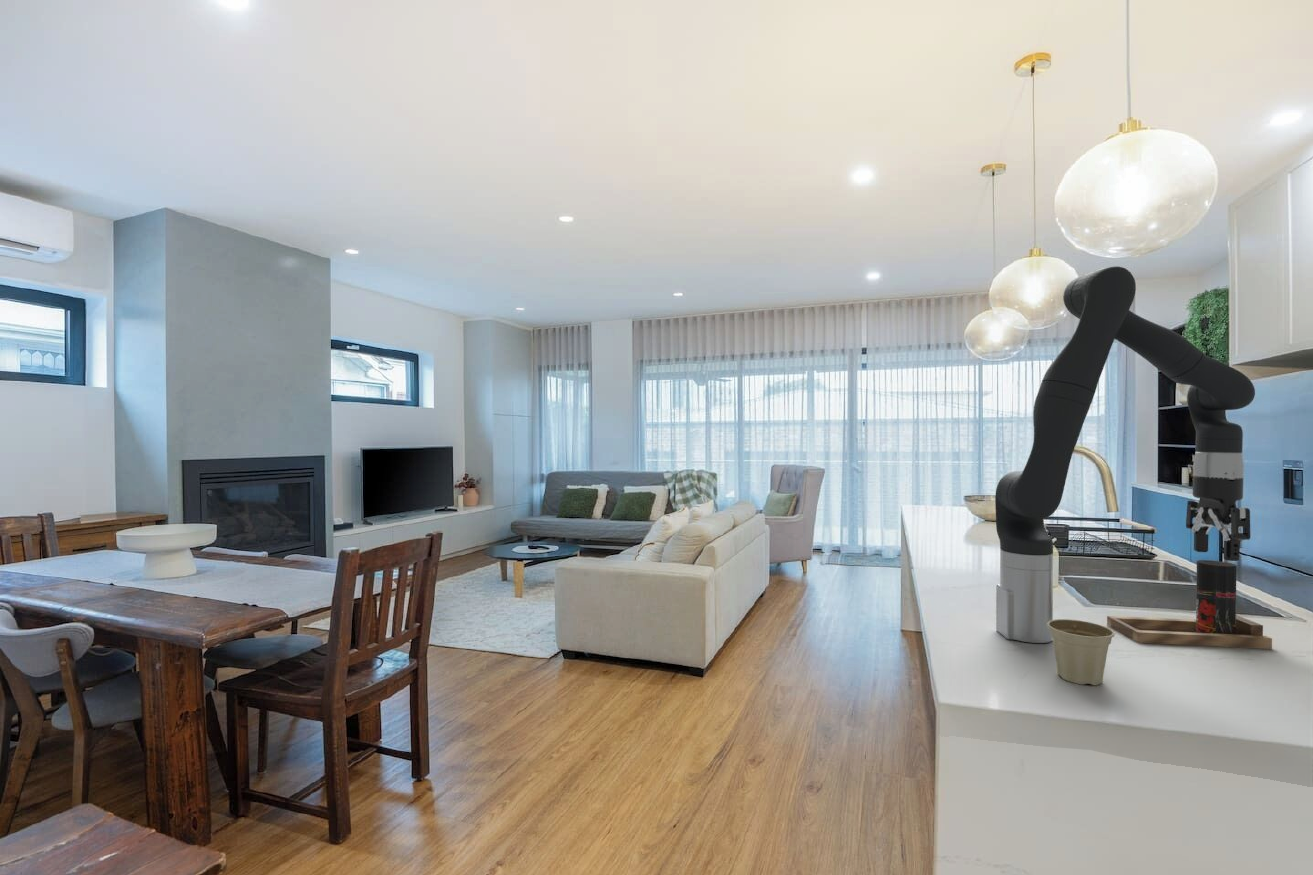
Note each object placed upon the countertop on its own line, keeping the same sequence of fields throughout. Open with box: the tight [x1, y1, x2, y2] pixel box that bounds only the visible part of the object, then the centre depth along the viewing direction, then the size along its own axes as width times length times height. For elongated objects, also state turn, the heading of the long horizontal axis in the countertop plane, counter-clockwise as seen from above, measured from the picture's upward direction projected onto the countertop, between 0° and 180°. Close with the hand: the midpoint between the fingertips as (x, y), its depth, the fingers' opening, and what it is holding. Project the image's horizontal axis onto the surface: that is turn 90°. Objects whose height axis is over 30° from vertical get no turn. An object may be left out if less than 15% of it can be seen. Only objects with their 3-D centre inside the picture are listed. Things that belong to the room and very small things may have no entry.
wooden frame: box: [1106, 614, 1273, 650], centre depth 127 cm, size 23×11×4 cm, turn 80°
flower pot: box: [1047, 618, 1116, 686], centre depth 106 cm, size 9×9×9 cm
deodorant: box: [1195, 559, 1237, 635], centre depth 126 cm, size 6×6×15 cm
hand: (1215, 555), depth 126 cm, fingers open, 8 cm apart
